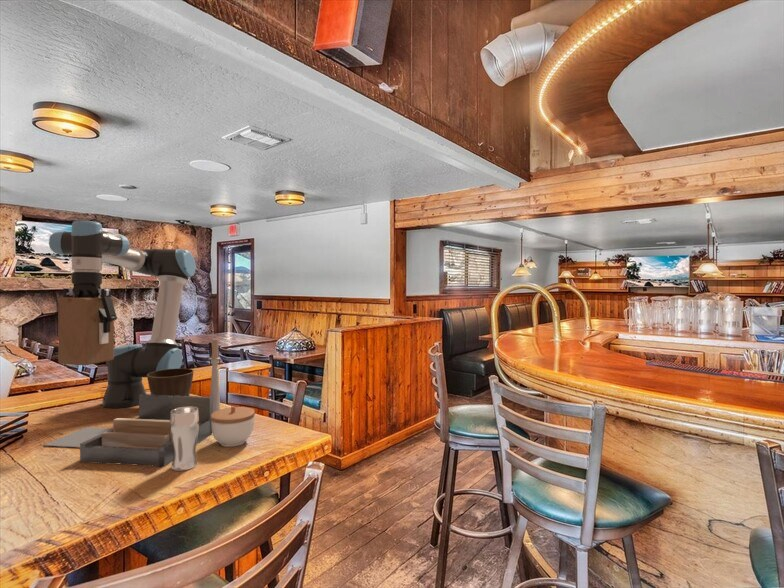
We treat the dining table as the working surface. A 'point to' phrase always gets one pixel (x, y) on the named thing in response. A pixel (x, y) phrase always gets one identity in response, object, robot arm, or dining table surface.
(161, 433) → the offcut stack
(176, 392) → the plant pot
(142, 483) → the dining table surface
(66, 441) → the mat
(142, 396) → the rack
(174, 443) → the beer glass
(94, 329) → the wooden block
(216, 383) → the candlestick
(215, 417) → the lidded bowl
